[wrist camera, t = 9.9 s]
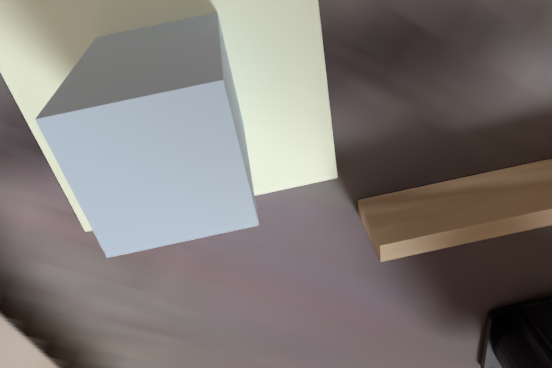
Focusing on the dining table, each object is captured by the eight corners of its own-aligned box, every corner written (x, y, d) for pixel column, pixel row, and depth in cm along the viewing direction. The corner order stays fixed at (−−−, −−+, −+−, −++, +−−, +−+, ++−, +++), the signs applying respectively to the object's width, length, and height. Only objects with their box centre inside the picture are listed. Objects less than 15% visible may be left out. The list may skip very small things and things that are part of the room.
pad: (334, 171, 22) (337, 178, 21) (88, 223, 21) (85, 231, 21) (300, -130, 15) (303, -131, 14) (-59, -57, 15) (-68, -55, 14)
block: (243, 122, 19) (258, 225, 13) (137, 144, 19) (106, 258, 13) (217, 12, 16) (223, 79, 11) (96, 37, 16) (35, 119, 11)
